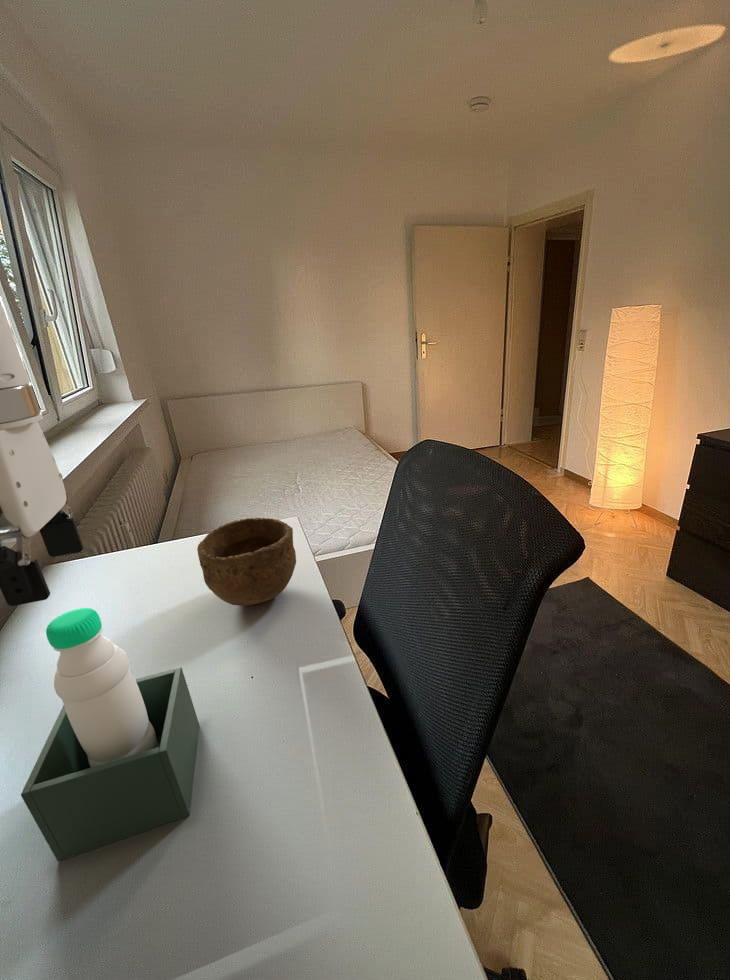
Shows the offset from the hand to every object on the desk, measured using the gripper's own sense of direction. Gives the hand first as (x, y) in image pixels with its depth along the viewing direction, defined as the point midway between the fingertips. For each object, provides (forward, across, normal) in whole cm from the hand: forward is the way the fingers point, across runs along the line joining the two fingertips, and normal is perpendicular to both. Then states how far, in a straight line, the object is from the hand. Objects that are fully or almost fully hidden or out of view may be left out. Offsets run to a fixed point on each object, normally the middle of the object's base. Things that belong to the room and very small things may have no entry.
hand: (50, 575), depth 46 cm
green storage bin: (+31, 0, +1) cm, 31 cm away
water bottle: (+31, 0, +1) cm, 31 cm away
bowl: (+32, -38, +17) cm, 52 cm away
